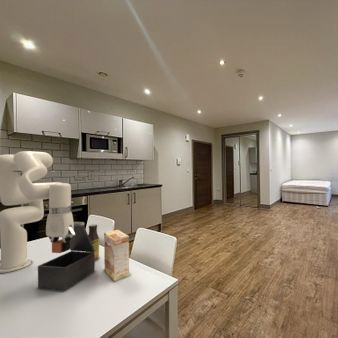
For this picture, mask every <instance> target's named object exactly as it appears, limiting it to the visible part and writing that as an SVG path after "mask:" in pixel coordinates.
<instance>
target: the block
mask: <svg viewBox="0 0 338 338" xmlns="http://www.w3.org/2000/svg"><path fill="white" fill-rule="evenodd" d="M62 243H63V240H62V238H61V239H59V240H58V241H56V242H53V243H51V253H52V254H61V253H63V252H62Z"/></svg>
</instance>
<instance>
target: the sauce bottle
mask: <svg viewBox="0 0 338 338" xmlns="http://www.w3.org/2000/svg"><path fill="white" fill-rule="evenodd" d="M87 234H88V236H89V238H90V241H91V243H92V245H93V247H94V249H95V252H94V253H95V261H97V260H98V259H99V258H100V257H99V256H100V237H99V234H98V224H96V223H94V224H89V225H88V233H87Z"/></svg>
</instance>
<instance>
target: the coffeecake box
mask: <svg viewBox="0 0 338 338" xmlns="http://www.w3.org/2000/svg"><path fill="white" fill-rule="evenodd" d="M129 239H130V236H129V235H128V234H126V233H124V232H123V231H121V230H120V229H115V230H109V231H104V232H103V244H104V245H103V246H104V247H103V250H104V251H103V253H104V255H103V256H104V257H103V259H104V272H106V274H107V275H108V276H109V277H110V278H111V280H113V281H114V282H116V281H119V280H120V279H123V278H127V277H129V276H130V240H129Z"/></svg>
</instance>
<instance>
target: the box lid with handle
mask: <svg viewBox="0 0 338 338" xmlns="http://www.w3.org/2000/svg"><path fill="white" fill-rule="evenodd" d="M73 223H74V233H75V234H76V235H75V236H74V237H73V238H72V239H71V241H70V249H69V250H70V251H79V252H95V249H94V247H93V245H92V243H91V241H90V238H89V236H88V234H89V233H88V232H87V230H86V227H85V224H86V223H85V222H84V221H73ZM66 238H67V236H66Z"/></svg>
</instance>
